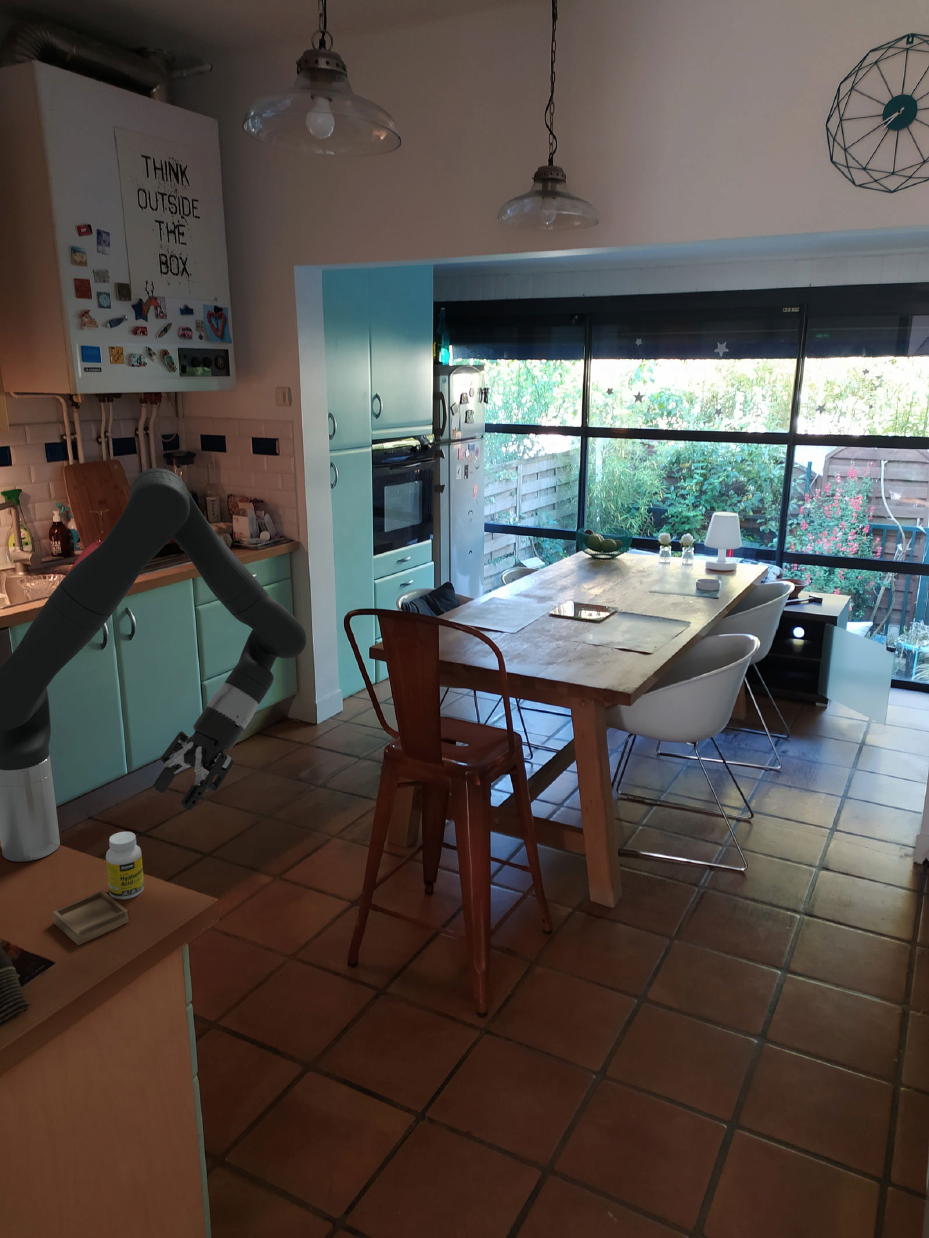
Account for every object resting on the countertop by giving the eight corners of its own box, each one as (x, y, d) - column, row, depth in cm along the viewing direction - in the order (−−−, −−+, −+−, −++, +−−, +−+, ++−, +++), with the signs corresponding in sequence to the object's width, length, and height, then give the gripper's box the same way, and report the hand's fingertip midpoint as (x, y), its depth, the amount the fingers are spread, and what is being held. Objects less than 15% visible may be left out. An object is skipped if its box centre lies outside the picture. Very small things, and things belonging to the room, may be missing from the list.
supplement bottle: (121, 904, 145) (116, 849, 142) (102, 892, 148) (96, 838, 145) (151, 889, 149) (146, 836, 146) (131, 878, 152) (127, 825, 149)
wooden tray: (53, 922, 140) (52, 911, 139) (103, 901, 146) (102, 890, 145) (78, 945, 135) (76, 933, 134) (128, 921, 141) (127, 910, 140)
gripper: (189, 694, 158) (133, 776, 153) (237, 717, 149) (179, 804, 144) (217, 714, 164) (163, 794, 159) (265, 737, 154) (210, 822, 149)
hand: (171, 798), depth 151 cm, fingers open, 8 cm apart
